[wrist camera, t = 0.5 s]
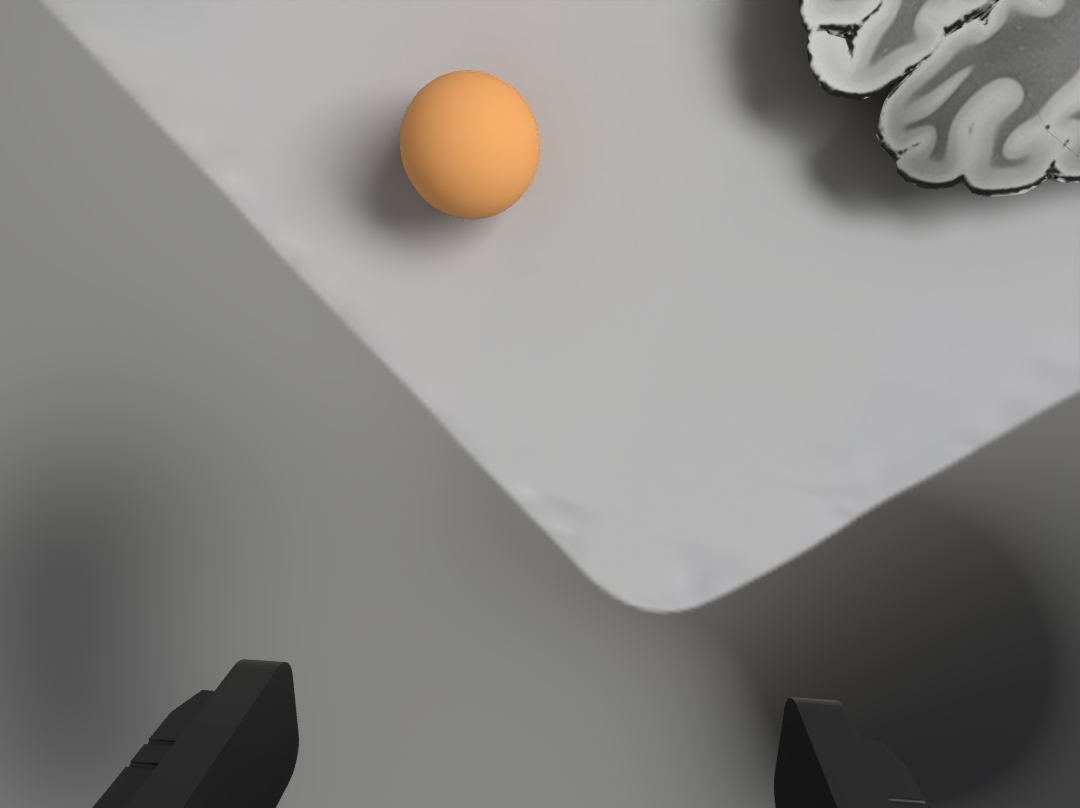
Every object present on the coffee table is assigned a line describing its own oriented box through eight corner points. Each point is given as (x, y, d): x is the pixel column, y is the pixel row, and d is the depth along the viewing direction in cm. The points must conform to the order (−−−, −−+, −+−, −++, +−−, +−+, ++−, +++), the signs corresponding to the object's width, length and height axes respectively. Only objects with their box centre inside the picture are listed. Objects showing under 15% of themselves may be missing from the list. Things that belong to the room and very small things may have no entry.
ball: (418, 80, 29) (379, 55, 24) (547, 84, 29) (536, 60, 24) (419, 214, 31) (383, 218, 26) (541, 219, 31) (530, 224, 25)
